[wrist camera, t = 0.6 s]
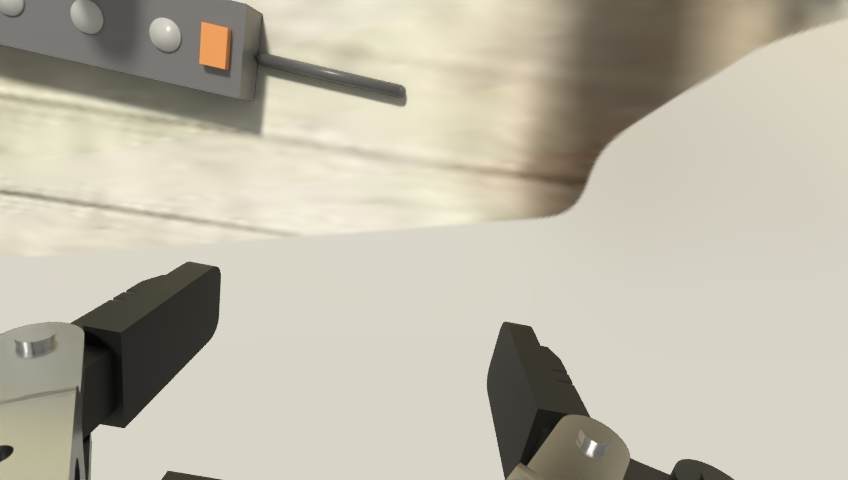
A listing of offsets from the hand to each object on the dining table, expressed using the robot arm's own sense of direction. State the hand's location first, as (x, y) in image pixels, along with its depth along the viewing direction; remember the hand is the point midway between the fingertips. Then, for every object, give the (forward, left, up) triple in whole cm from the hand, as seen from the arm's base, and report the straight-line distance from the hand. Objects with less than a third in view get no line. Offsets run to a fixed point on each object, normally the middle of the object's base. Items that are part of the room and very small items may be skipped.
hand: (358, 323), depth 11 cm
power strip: (-8, -20, -27) cm, 35 cm away
